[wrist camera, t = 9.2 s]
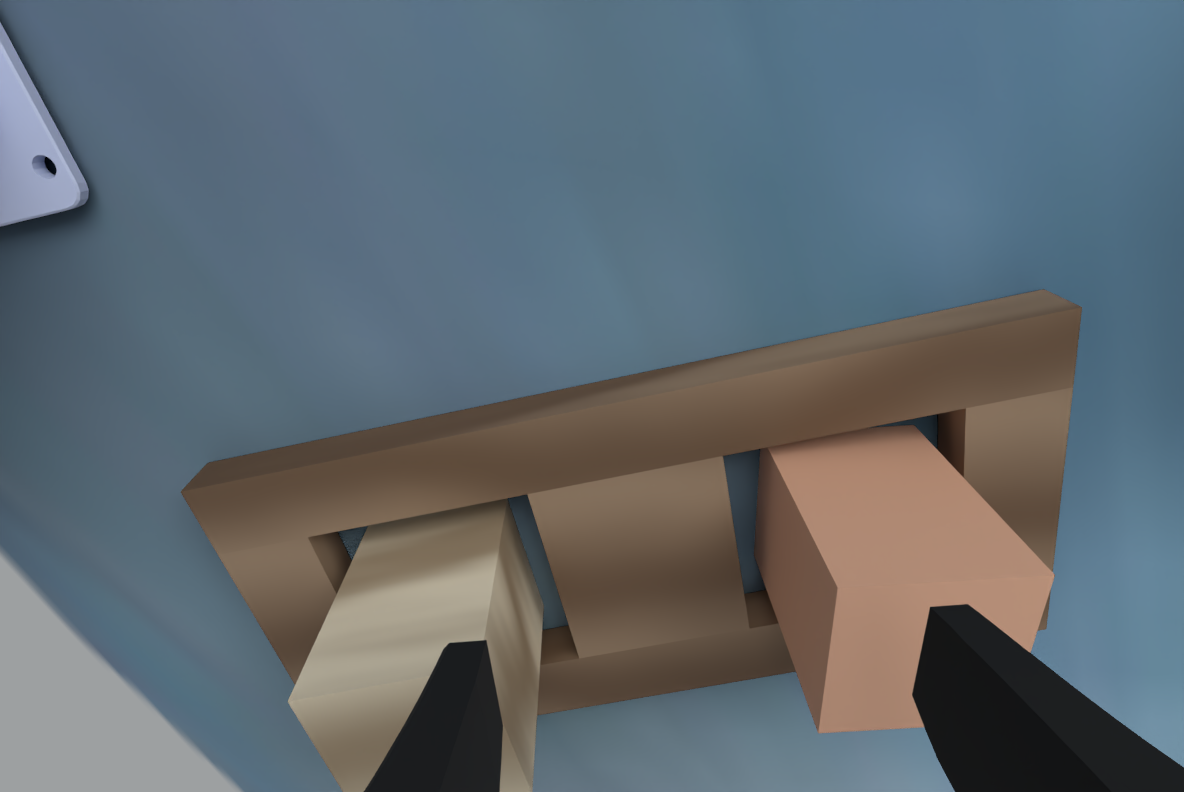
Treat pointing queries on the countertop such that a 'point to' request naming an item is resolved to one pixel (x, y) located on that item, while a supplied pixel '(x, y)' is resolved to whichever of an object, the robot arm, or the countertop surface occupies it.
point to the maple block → (423, 637)
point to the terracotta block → (880, 566)
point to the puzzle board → (656, 486)
